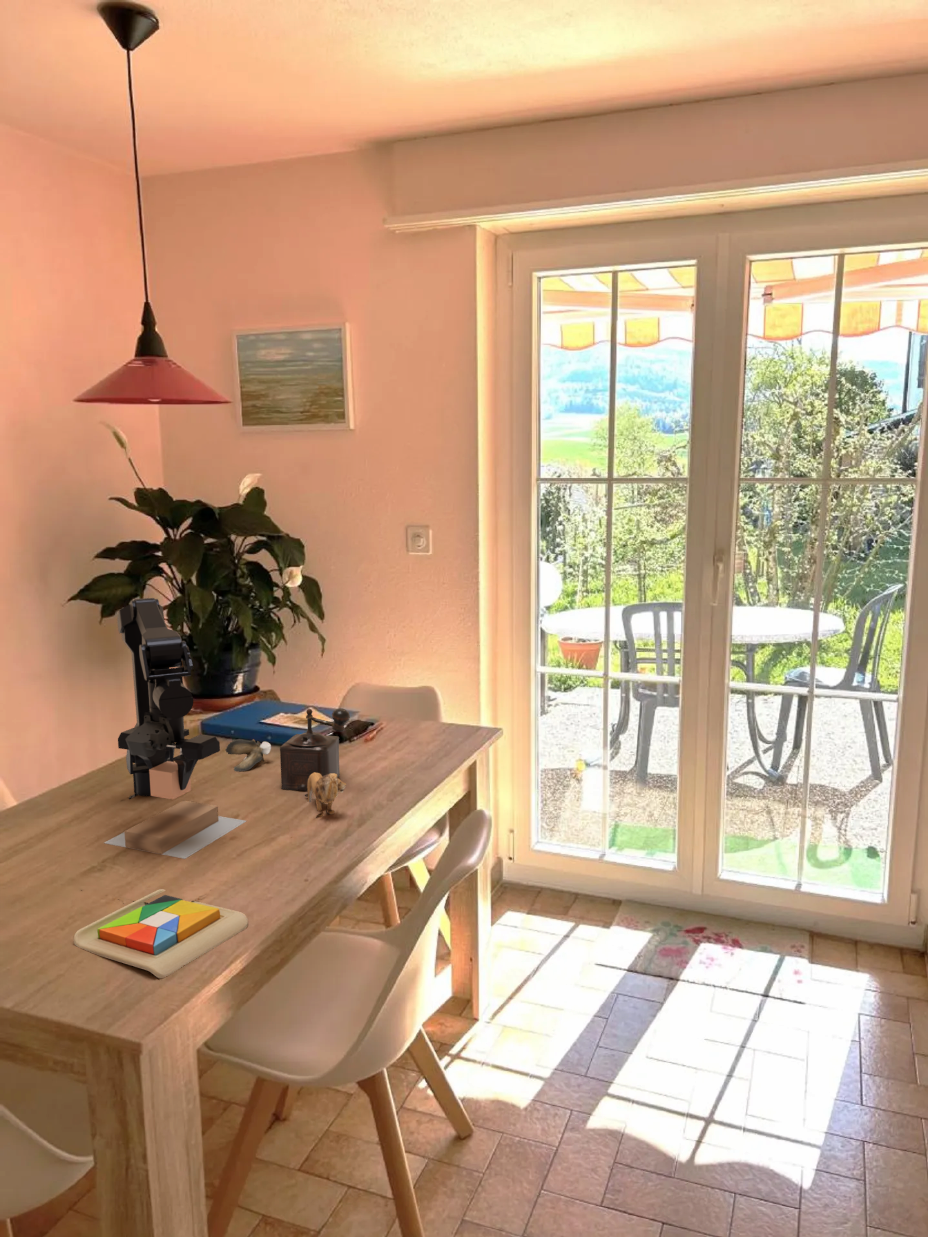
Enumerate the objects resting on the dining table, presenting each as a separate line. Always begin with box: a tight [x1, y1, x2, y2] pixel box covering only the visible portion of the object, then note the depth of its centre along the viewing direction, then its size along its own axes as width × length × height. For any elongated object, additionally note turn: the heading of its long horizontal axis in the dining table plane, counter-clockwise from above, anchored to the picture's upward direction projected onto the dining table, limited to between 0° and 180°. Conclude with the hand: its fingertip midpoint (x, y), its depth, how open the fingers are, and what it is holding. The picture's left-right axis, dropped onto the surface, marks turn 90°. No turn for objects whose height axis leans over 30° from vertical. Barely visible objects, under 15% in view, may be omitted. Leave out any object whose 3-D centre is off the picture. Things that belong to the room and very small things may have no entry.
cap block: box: [149, 761, 192, 800], centre depth 163 cm, size 5×5×5 cm
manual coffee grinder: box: [279, 707, 351, 792], centre depth 193 cm, size 16×11×18 cm
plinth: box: [123, 800, 219, 855], centre depth 165 cm, size 8×16×3 cm, turn 158°
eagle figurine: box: [225, 738, 272, 772], centre depth 206 cm, size 8×7×9 cm
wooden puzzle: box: [73, 888, 249, 979], centre depth 132 cm, size 18×19×4 cm
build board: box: [103, 815, 247, 860], centre depth 166 cm, size 18×18×1 cm
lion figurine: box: [304, 772, 347, 818], centre depth 179 cm, size 15×5×9 cm, turn 36°
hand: (171, 787), depth 163 cm, fingers closed on cap block, 5 cm apart
